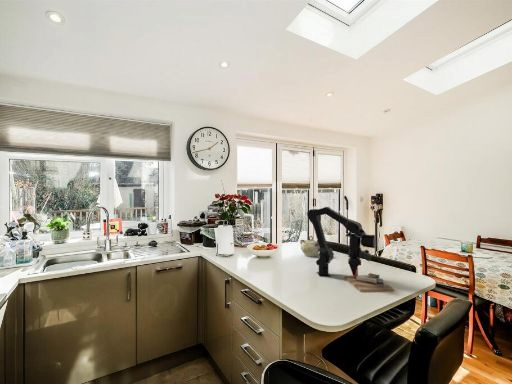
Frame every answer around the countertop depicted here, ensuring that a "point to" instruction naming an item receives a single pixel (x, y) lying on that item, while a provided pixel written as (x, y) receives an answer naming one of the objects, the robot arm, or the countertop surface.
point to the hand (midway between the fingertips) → (353, 273)
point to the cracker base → (368, 284)
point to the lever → (368, 278)
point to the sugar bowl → (310, 247)
